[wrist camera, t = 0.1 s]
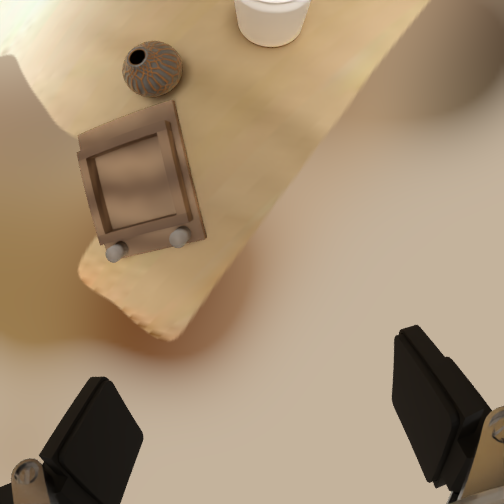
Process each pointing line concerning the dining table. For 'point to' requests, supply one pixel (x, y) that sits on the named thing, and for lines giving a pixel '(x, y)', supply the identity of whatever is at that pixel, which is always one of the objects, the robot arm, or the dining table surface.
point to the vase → (152, 69)
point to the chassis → (140, 183)
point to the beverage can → (271, 20)
